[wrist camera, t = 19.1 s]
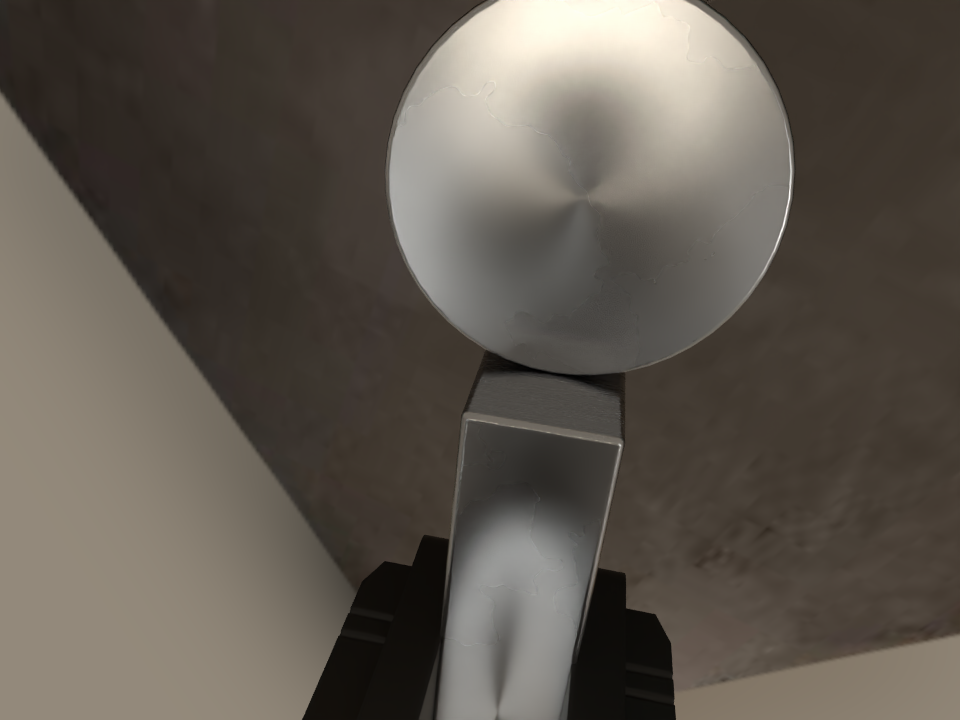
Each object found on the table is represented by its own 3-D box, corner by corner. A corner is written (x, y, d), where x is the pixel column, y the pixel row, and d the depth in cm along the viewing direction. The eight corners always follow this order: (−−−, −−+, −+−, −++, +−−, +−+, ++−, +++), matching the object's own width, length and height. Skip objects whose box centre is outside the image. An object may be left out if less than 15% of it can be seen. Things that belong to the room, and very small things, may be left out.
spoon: (415, -51, 9) (354, -59, 7) (830, -7, 8) (893, 0, 6) (374, 750, 15) (335, 869, 13) (607, 801, 14) (605, 933, 12)
